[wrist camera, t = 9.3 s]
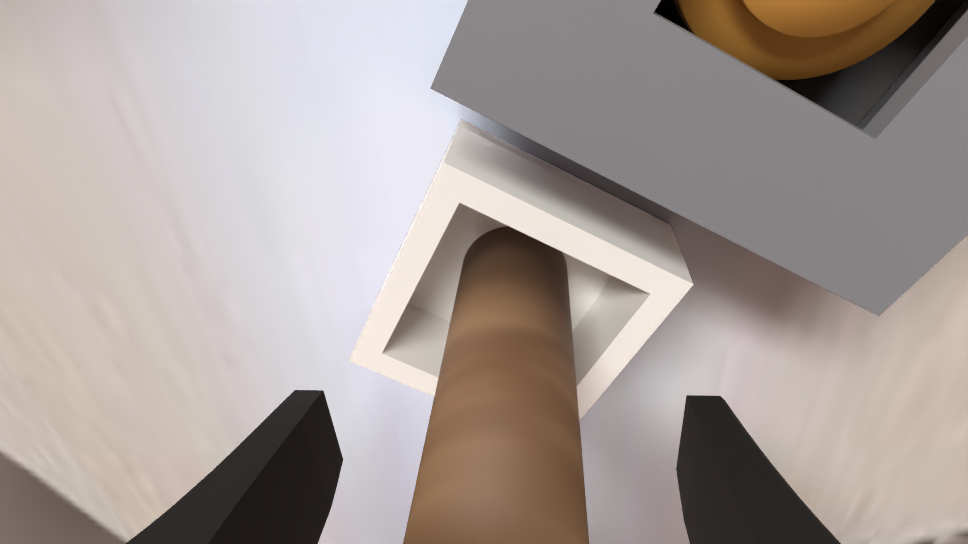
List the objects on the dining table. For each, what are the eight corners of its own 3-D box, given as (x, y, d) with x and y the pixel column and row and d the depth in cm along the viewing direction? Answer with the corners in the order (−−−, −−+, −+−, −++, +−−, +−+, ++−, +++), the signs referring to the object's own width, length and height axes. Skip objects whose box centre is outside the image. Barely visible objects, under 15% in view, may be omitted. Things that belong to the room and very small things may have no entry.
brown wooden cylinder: (588, 258, 17) (630, 558, 9) (531, 331, 18) (526, 641, 10) (494, 207, 16) (454, 480, 8) (444, 287, 18) (370, 582, 10)
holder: (671, 225, 16) (693, 284, 14) (556, 377, 20) (556, 448, 17) (461, 119, 15) (443, 162, 13) (375, 298, 19) (348, 360, 16)
